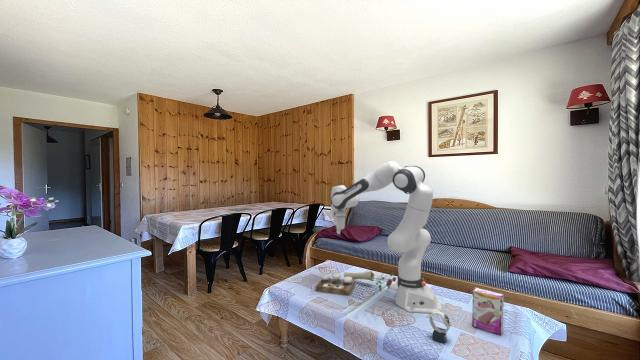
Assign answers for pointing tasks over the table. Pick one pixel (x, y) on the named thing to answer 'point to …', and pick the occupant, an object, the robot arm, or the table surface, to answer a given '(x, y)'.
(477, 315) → the candy bar box
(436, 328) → the watch
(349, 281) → the inner button
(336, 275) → the middle button
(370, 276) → the flower vase
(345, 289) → the button board
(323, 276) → the outer button
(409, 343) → the table surface
